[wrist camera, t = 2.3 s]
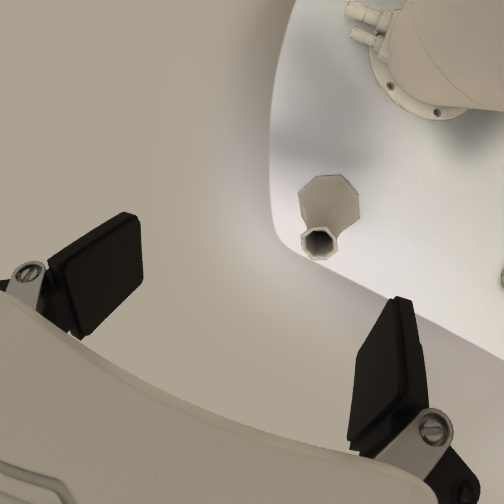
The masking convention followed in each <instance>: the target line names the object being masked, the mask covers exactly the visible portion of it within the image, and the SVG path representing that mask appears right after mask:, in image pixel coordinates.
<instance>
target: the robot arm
mask: <svg viewBox="0 0 504 504" xmlns="http://www.w3.org/2000/svg"><path fill="white" fill-rule="evenodd" d="M345 16H347V17H349V18H352V19H355V20H357V21H360V22H365V23H367V24H370V25H372V26H375V29H374V32H373V34H370V33H367V32H366V31H364V30H361V29H359V28H356V27H354V28H353V30H352V33H351V37H350V38H352V39H354V40H357V41H359V42H362V43H366V44H368V45H370V49H369V54H370V62H371V66H372V69H373V72H374V75H375V76H376V78H377V80H378V83H379V84H380V86H381V87H382V88H383V90H384V91H385V93H386V94H387V95H388V96H389V97H390V98H391V99H392V100H393V101H394V102H395V103H397V104H398V105H399V106H400V107H402V108H403V109H405V110H407V111H408V112H410V113H412V114H414V115H417V116H420V117H422V118H427V119H431V120H447V119H452V118H455V117H458V116H460V115H461V114H463V113H465V112H466V111H467V110H468V109H469V108H474V109H483V110H491V111H500V112H504V0H407V2H406V4H405V6H404V7H403V9H402V10H397V9H396V10H395V11H394V12H393V13H390V14H389V13H387V12H385V11H383V12H382V14H381V13H379V12H376V11H374V10H372V9H369V8H368V7H366V6H363V5H361V4H358V3H355V2H352V1H350V2H349V3H348V6H347V9H346V13H345ZM388 84H390V85H391V86H392V88H391V89H389V88H388V87H387V86H388ZM434 110H436V111H437V114H436V115H435V114H434ZM47 262H48V265H49V269H48V270H46V268H45V266H44V264H43V263H42V262H39V261H30V262H26V263H24V264H22V265H20V266H19V267H18V268H17V269H16V270H15V271H14V272H13V274H12V276H11V279H8V280H0V504H477V501H478V500H479V496H480V483H479V480H478V479H477V477H476V476H475V474H474V473H473V472H472V471H471V470H470V468H469V467H468V466H467V465H466V464H465V462H464V461H463V460H462V459H461V458H460V456H459V455H458V454H457V453H456V452H455V451H454V449H452V447H451V446H450V443H451V441H452V439H453V434H454V431H453V425H452V423H451V421H450V419H449V418H448V416H447V415H446V414H445V413H444V412H442V411H441V410H439V409H436V408H429V399H428V388H427V378H426V371H425V363H424V355H423V349H422V345H421V344H420V341H419V335H418V329H417V323H416V318H415V313H414V308H413V303H412V301H411V300H408V299H405V298H402V297H399V296H396V297H395V298H394V299H389V300H388V302H387V303H386V305H385V307H384V309H383V311H382V312H381V314H380V316H379V318H378V320H377V321H376V323H375V325H374V326H373V328H372V330H371V332H370V333H369V335H368V337H367V338H366V340H365V342H364V343H363V345H362V347H361V348H360V350H359V351H358V354H357V357H356V365H355V376H354V386H353V395H352V404H351V411H350V419H349V426H348V432H347V440H348V441H351V442H350V448H349V449H350V450H354V451H359V452H360V453H359V456H357V455H352V454H348V453H344V452H340V451H335V450H330V449H326V448H322V447H318V446H313V445H310V444H306V443H302V442H299V441H295V440H292V439H288V438H285V437H281V436H278V435H275V434H271V433H268V432H265V431H262V430H258V429H256V428H253V427H250V426H247V425H244V424H241V423H238V422H236V421H233V420H230V419H228V418H225V417H222V416H220V415H217V414H214V413H212V412H210V411H207V410H205V409H203V408H200V407H198V406H196V405H193V404H191V403H189V402H187V401H184V400H182V399H180V398H178V397H176V396H174V395H172V394H169V393H167V392H165V391H163V390H161V389H159V388H157V387H155V386H153V385H151V384H149V383H147V382H146V381H144V380H142V379H140V378H138V377H136V376H134V375H133V374H131V373H129V372H127V371H125V370H124V369H122V368H120V367H118V366H117V365H115V364H113V363H112V362H110V361H108V360H107V359H105V358H103V357H102V356H100V355H98V354H97V353H95V352H94V351H92V350H91V349H89V348H87V347H86V346H84V345H83V344H81V343H80V342H78V341H77V340H75V339H74V338H72V337H70V335H68V334H67V332H68V331H69V330H70V332H71V334H72V335H73V336H75V337H76V338H77V339H79V340H80V341H81V340H82V339H83V338H84V337H85V336H88V335H90V334H91V333H92V332H93V331H94V330H95V329H96V328H97V327H98V326H99V325H100V324H101V323H102V322H103V321H104V320H105V319H106V318H107V317H108V316H109V315H110V314H111V313H112V312H113V311H114V310H115V309H116V308H117V307H118V306H119V305H120V304H121V303H122V302H123V301H124V300H125V299H126V298H127V297H128V296H129V295H130V294H131V293H132V292H133V291H134V290H135V289H136V288H138V286H140V284H141V283H142V281H143V263H142V247H141V225H140V221H139V220H138V217H137V216H136V215H133V214H130V213H127V212H121V213H120V214H118V215H116V216H115V217H113V218H111V219H110V220H108V221H106V222H105V223H103V224H101V225H100V226H98V227H96V228H95V229H93V230H92V231H90V232H89V233H87V234H85V235H84V236H82V237H80V238H79V239H78V240H76V241H74V242H73V243H71V244H70V245H68V246H67V247H65V248H64V249H62V250H61V251H59V252H58V253H56V254H55V255H53V256H52V257H51V258H49V259H48V260H47Z"/></svg>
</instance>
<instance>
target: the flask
mask: <svg viewBox="0 0 504 504" xmlns="http://www.w3.org/2000/svg"><path fill="white" fill-rule="evenodd" d="M298 196H299V203H300V209H301V216H302V218H303V220H304V222H305V223H306V226H307V230H306V231H305V232H304V233H303V234H301V236H300V237H301V244H302V250H303V251H304V252H305V253H306V254H307V255H308V256H309V257H310V258H311V259H312V260H326V259H328V258H329V257H331V256H332V255H333V254H335V253H336V252H337V251H338V248H337V237H338V236H339V234H340V233H341V232H343V231H344V230H345V229H346V228H348V227H349V226H350V225H352V224H353V223H354V222H356V221H357V220H358V219H359V218H360V213H359V198H358V193H357V192H356V191H355V190H354V189H353V188H352V187H351V185H350V184H349V183H348V182H347V181H346V180H345V179H344V178H343V177H342V175H334V176H318V177H315V178H314V179H313V180H311V181H310V182H309V183H308V184H307V185H306V186H305V187H304V188H303V189H302V190H300V191H299V192H298Z"/></svg>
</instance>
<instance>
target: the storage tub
mask: <svg viewBox="0 0 504 504" xmlns="http://www.w3.org/2000/svg"><path fill="white" fill-rule="evenodd" d="M501 283H502V285H503V287H504V269H503V271H502V275H501Z"/></svg>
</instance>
